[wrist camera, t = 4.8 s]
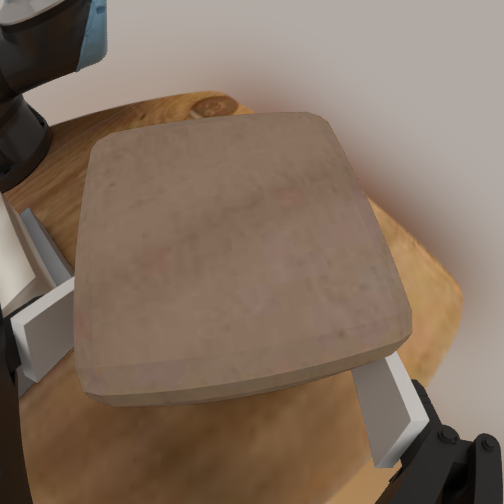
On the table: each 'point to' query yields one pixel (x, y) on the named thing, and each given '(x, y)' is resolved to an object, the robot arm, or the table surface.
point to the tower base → (53, 263)
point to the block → (228, 263)
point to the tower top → (19, 262)
